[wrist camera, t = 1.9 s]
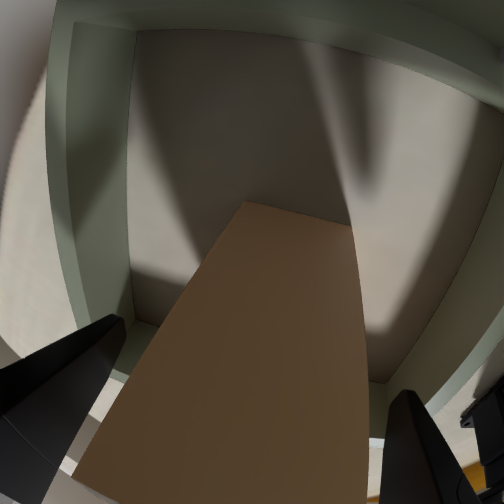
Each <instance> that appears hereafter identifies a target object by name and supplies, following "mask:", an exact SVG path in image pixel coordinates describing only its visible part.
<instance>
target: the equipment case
mask: <svg viewBox="0 0 504 504" xmlns="http://www.w3.org/2000/svg"><path fill="white" fill-rule="evenodd" d="M160 29H212V30H230V31H242V32H253V33H262V34H270V35H277V36H284V37H290V38H296V39H302V40H307V41H312V42H317V43H322V44H326V45H331V46H335V47H339V48H343V49H347V50H351V51H355V52H358V53H362V54H365V55H369V56H372V57H375V58H379V59H382V60H385V61H388V62H391V63H394V64H397V65H400V66H403V67H405V68H408V69H411V70H413V71H416V72H419V73H421V74H424V75H426V76H429V77H431V78H433V79H436V80H438V81H440V82H443V83H445V84H447V85H449V86H452V87H454V88H456V89H458V90H460V91H462V92H464V93H466V94H468V95H470V96H472V97H474V98H476V99H478V100H480V101H482V102H484V103H486V104H487V105H489V106H491V107H493V108H495V109H496V110H498V111H500V112H502V113H503V114H504V0H57V3H56V8H55V13H54V19H53V25H52V31H51V38H50V46H49V55H48V65H47V78H46V99H45V138H46V160H47V174H48V185H49V194H50V203H51V210H52V217H53V224H54V230H55V236H56V242H57V247H58V252H59V257H60V262H61V267H62V271H63V276H64V280H65V284H66V288H67V292H68V296H69V300H70V304H71V307H72V311H73V314H74V318H75V321H76V324H77V328H78V330H79V329H81V328H83V327H85V326H87V325H89V324H91V323H93V322H95V321H97V320H99V319H101V318H103V317H105V316H107V315H109V314H111V313H114V314H117V315H119V316H122V317H123V318H124V321H125V327H126V333H127V337H126V341H125V343H124V345H123V347H122V350H121V352H120V354H119V356H118V358H117V361H116V363H115V365H114V367H113V370H112V372H111V374H110V376H109V377H110V378H113V379H115V380H117V381H119V382H122V383H124V384H125V383H126V381H127V379H128V378H129V376H130V374H131V373H132V371H133V369H134V368H135V366H136V365H137V363H138V361H139V360H140V358H141V356H142V355H143V353H144V352H145V350H146V348H147V347H148V345H149V344H150V342H151V340H152V339H153V337H154V336H155V334H156V333H157V331H158V329H159V327H156V326H153V325H150V324H147V323H144V322H142V321H139V320H136V319H135V312H134V304H133V295H132V285H131V275H130V263H129V248H128V231H127V201H126V158H127V129H128V112H129V98H130V87H131V77H132V68H133V59H134V52H135V44H136V38H137V31H142V30H160ZM503 337H504V159H503V163H502V166H501V169H500V172H499V175H498V178H497V181H496V184H495V187H494V190H493V192H492V195H491V198H490V200H489V203H488V206H487V208H486V211H485V213H484V216H483V218H482V220H481V223H480V225H479V228H478V230H477V232H476V234H475V237H474V239H473V241H472V243H471V245H470V248H469V250H468V252H467V254H466V256H465V258H464V260H463V262H462V264H461V266H460V268H459V270H458V272H457V274H456V276H455V278H454V279H453V281H452V283H451V285H450V287H449V289H448V291H447V292H446V294H445V296H444V298H443V299H442V301H441V303H440V305H439V306H438V308H437V310H436V311H435V313H434V315H433V316H432V318H431V320H430V321H429V323H428V324H427V326H426V328H425V329H424V331H423V332H422V334H421V335H420V337H419V338H418V340H417V341H416V343H415V344H414V346H413V347H412V349H411V350H410V352H409V353H408V355H407V356H406V357H405V359H404V360H403V362H402V363H401V364H400V366H399V367H398V369H397V370H396V371H395V373H394V374H393V375H392V377H391V378H390V379H389V381H388V382H387V383H386V384H383V383H376V382H370V381H368V386H369V447H376V448H383V447H384V440H385V433H386V427H387V419H388V411H389V406H390V404H391V402H392V401H393V400H394V398H395V397H396V396H397V395H398V394H399V393H400V391H401V390H403V389H410V390H414V391H415V392H416V393H417V395H418V396H419V398H420V399H421V401H422V403H423V404H424V406H425V407H426V409H427V411H428V412H429V414H430V416H431V417H433V416H434V415H435V414H436V413H437V412H439V411H440V410H441V409H442V408H443V407H444V406H445V405H446V404H447V403H448V402H449V401H450V399H451V398H452V397H453V396H454V395H455V394H456V393H457V392H458V391H459V390H460V389H461V388H462V387H463V386H464V385H465V383H466V382H467V381H468V380H469V379H470V378H471V377H472V376H473V374H474V373H475V372H476V371H477V370H478V368H479V367H480V366H481V365H482V364H483V362H484V361H485V360H486V359H487V358H488V356H489V355H490V354H491V352H492V351H493V350H494V349H495V347H496V346H497V345H498V343H499V342H500V341H501V339H502V338H503Z"/></svg>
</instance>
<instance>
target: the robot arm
mask: <svg viewBox="0 0 504 504" xmlns="http://www.w3.org/2000/svg"><path fill="white" fill-rule="evenodd" d="M126 337H127V333H126V327H125V321H124V318H123V317H122V316H119V315H117V314H114V313H111V314H109V315H107V316H105V317H103V318H101V319H99V320H97V321H95V322H93V323H91V324H89V325H87V326H85V327H83V328H81V329H79V330H77V331H75V332H73V333H71V334H69V335H67V336H65V337H63V338H61V339H60V340H58V341H56V342H54V343H52V344H50V345H48V346H46V347H44V348H42V349H40V350H38V351H36V352H34V353H32V354H30V355H28V356H26V357H25V359H24V358H22V359H20V360H18V361H17V362H15V363H12V364H10V365H8V366H6V367H4V368H2V369H0V504H12V503H13V501H16V502H18V503H20V504H41V503H42V501H43V499H44V497H45V495H46V493H47V491H48V489H49V487H50V485H51V482H52V481H53V479H54V476H55V475H56V473H57V471H58V468H59V467H60V465H61V463H62V461H63V459H64V457H65V455H66V453H67V451H68V449H69V447H70V445H71V444H72V442H73V440H74V438H75V436H76V434H77V432H78V431H79V429H80V427H81V425H82V423H83V422H84V420H85V418H86V416H87V415H88V413H89V411H90V409H91V408H92V406H93V404H94V402H95V401H96V399H97V397H98V395H99V394H100V392H101V390H102V389H103V387H104V385H105V383H106V382H107V380H108V378H109V376H110V374H111V372H112V370H113V367H114V365H115V363H116V361H117V358H118V356H119V354H120V352H121V350H122V347H123V345H124V343H125V341H126ZM460 425H461V428H474V429H475V434H476V439H477V445H478V451H479V457H480V464H481V466H484V472H485V481H486V488H490V489H489V490H486V491H484V492H482V493H481V494H478V495H476V493H475V492H474V490H473V488H472V486H471V485H470V483H469V481H468V479H467V478H466V476H465V474H464V473H463V470H462V469H461V467H460V465H459V463H458V461H457V460H456V458H455V456H454V454H453V453H452V451H451V449H450V447H449V446H448V444H447V442H446V441H445V439H444V437H443V435H442V434H441V432H440V430H439V429H438V427H437V425H436V424H435V422H434V420H433V419H432V417H431V416H430V414H429V412H428V411H427V409H426V407H425V406H424V404H423V403H422V401H421V399H420V398H419V396H418V395H417V393H416V392H415V391H414V390H410V389H403V390H401V391H400V393H399V394H398V395H397V396H396V397H395V398H394V400H393V401H392V402H391V404H390V406H389V411H388V419H387V427H386V433H385V440H384V447H383V460H382V474H381V486H380V496H379V504H504V502H503V501H502V500H504V377H503V378H502V379H501V380H500V382H499V383H498V384H497V385H496V386H495V387H494V388H493V389H492V390H491V391H490V392H489V393H488V394H487V395H486V396H485V397H484V398H483V399H482V400H481V401H480V402H479V403H478V404H477V405H476V406H475V407H474V408H473V409H472V410H471V411H470V412H469V413H468V414H467V415H466V416H465V417H464V418H463V419H462V420H461V421H460ZM491 487H492V488H491Z"/></svg>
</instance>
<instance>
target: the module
mask: <svg viewBox="0 0 504 504" xmlns="http://www.w3.org/2000/svg"><path fill="white" fill-rule="evenodd" d="M368 470H369V386H368V365H367V349H366V336H365V325H364V314H363V304H362V295H361V287H360V279H359V271H358V264H357V257H356V250H355V243H354V237H353V231H352V227H350V226H346V225H342V224H339V223H335V222H331V221H327V220H323V219H319V218H316V217H312V216H308V215H304V214H300V213H296V212H292V211H287V210H283V209H279V208H275V207H271V206H267V205H262V204H258V203H254V202H249V201H245V200H244V201H243V203H242V204H241V206H240V207H239V209H238V210H237V211H236V213H235V214H234V216H233V217H232V219H231V220H230V222H229V223H228V225H227V226H226V227H225V229H224V230H223V232H222V233H221V235H220V236H219V238H218V239H217V241H216V242H215V244H214V245H213V247H212V248H211V250H210V251H209V253H208V254H207V256H206V257H205V259H204V260H203V262H202V263H201V265H200V266H199V268H198V269H197V271H196V272H195V274H194V275H193V277H192V278H191V280H190V281H189V283H188V284H187V286H186V287H185V289H184V290H183V292H182V294H181V295H180V297H179V298H178V300H177V301H176V303H175V304H174V306H173V307H172V309H171V311H170V312H169V314H168V315H167V317H166V318H165V320H164V321H163V323H162V325H161V326H160V328H159V329H158V331H157V333H156V334H155V336H154V337H153V339H152V340H151V342H150V344H149V345H148V347H147V348H146V350H145V352H144V353H143V355H142V356H141V358H140V360H139V361H138V363H137V365H136V366H135V368H134V369H133V371H132V373H131V374H130V376H129V378H128V379H127V381H126V383H125V384H124V386H123V388H122V389H121V391H120V393H119V394H118V396H117V398H116V399H115V401H114V403H113V404H112V406H111V408H110V409H109V411H108V413H107V414H106V416H105V418H104V420H103V421H102V423H101V425H100V427H99V428H98V430H97V432H96V433H95V435H94V437H93V439H92V440H91V442H90V444H89V446H88V447H87V449H86V451H85V453H84V454H83V456H82V458H81V460H80V461H79V463H78V465H77V467H76V469H75V470H74V472H73V474H72V476H71V478H73V479H74V480H75V481H77V482H78V483H79V484H80V485H82V486H83V487H84V488H85V489H87V490H88V491H89V492H91V493H92V494H94V495H95V496H96V497H98V498H99V499H100V500H102V501H103V502H105V503H106V504H366V503H367V489H368Z"/></svg>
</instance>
